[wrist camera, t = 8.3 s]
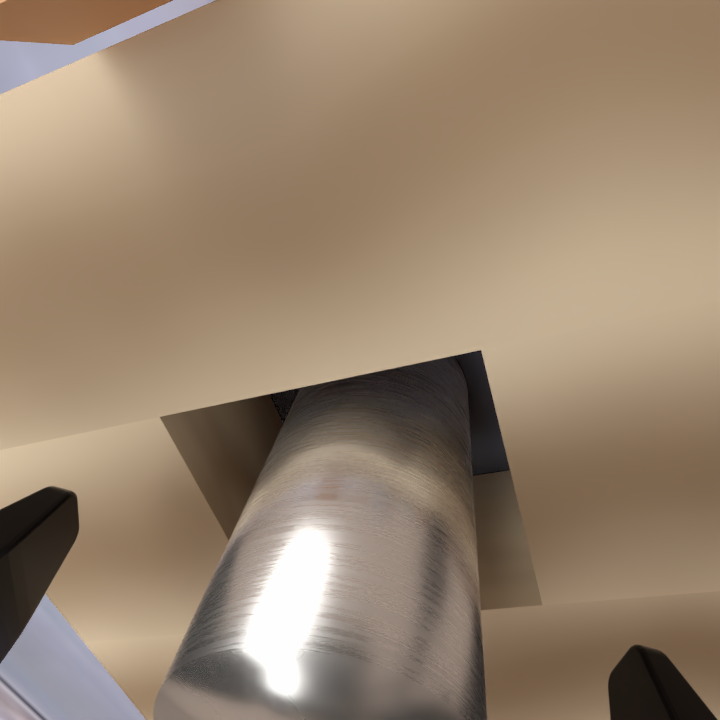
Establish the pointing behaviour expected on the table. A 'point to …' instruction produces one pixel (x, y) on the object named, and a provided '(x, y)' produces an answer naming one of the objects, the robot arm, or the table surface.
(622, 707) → the robot arm
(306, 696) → the cylinder
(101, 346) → the dock
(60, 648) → the table surface
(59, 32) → the pin
